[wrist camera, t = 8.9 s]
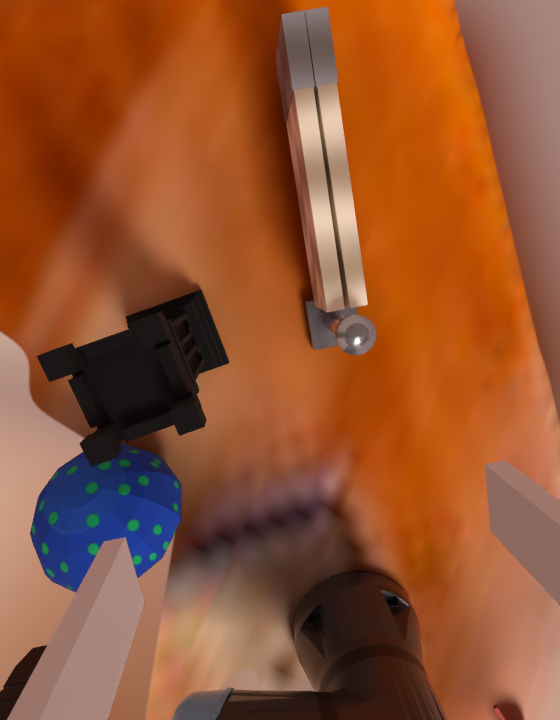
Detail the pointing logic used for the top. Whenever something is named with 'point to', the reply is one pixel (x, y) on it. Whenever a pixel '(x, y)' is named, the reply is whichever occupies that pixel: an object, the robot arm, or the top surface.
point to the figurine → (499, 714)
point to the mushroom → (105, 513)
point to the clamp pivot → (339, 329)
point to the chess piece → (141, 374)
